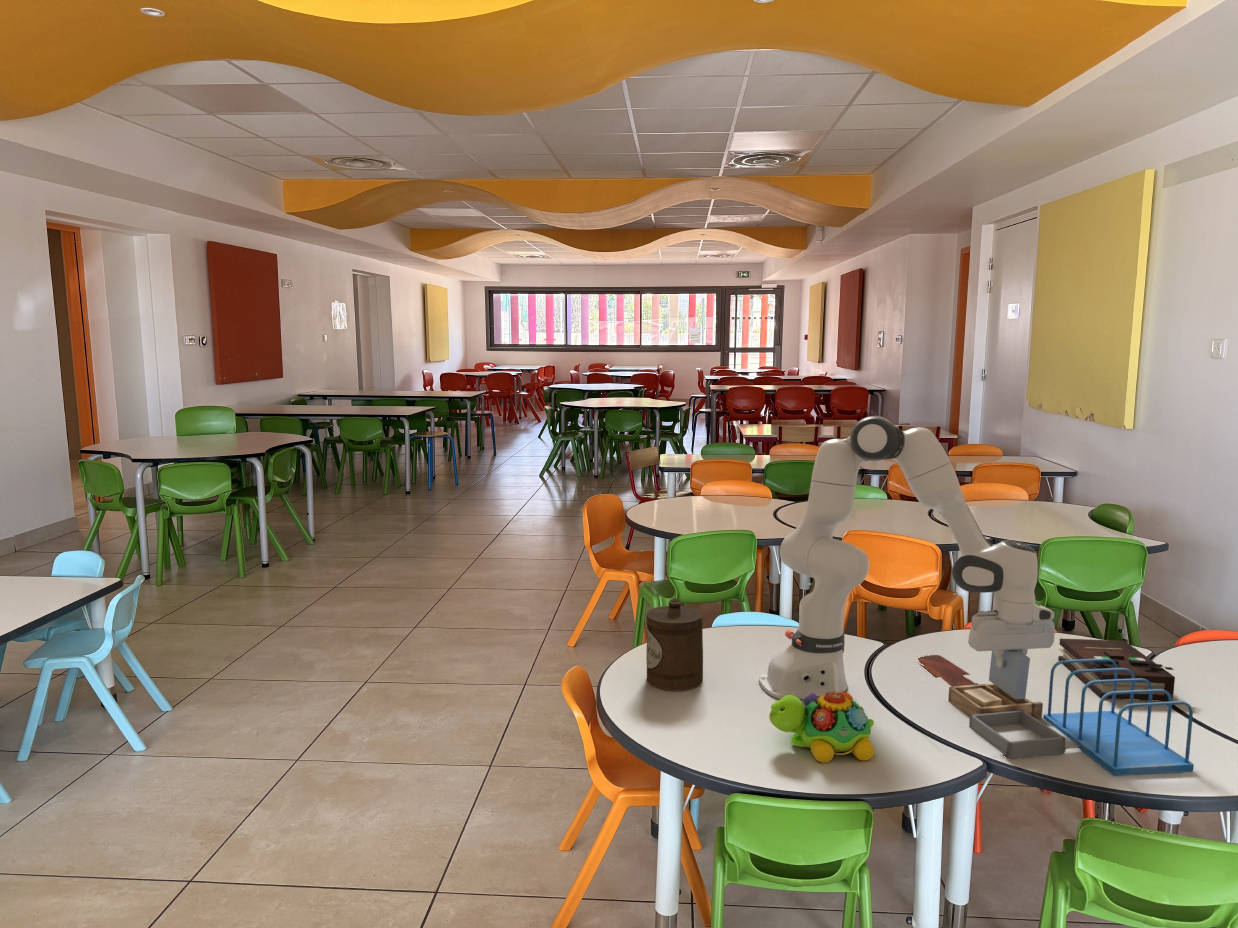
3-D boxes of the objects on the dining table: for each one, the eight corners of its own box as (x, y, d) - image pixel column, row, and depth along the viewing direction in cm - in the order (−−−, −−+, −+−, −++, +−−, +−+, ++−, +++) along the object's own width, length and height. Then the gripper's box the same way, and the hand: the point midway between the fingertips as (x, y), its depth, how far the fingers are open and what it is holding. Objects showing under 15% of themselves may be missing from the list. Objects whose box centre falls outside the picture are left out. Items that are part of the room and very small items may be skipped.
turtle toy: (759, 730, 189) (760, 681, 187) (858, 726, 191) (860, 677, 189) (779, 767, 172) (780, 714, 171) (887, 762, 174) (890, 710, 172)
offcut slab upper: (983, 710, 192) (984, 702, 192) (963, 698, 199) (963, 690, 198) (1001, 707, 193) (1001, 699, 193) (980, 695, 200) (980, 687, 200)
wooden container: (646, 668, 225) (646, 590, 222) (701, 669, 224) (701, 591, 221) (646, 691, 210) (646, 608, 207) (704, 692, 210) (705, 608, 207)
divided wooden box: (979, 726, 190) (980, 708, 189) (948, 703, 202) (949, 686, 201) (1041, 720, 193) (1042, 703, 192) (1007, 698, 205) (1008, 681, 204)
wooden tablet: (995, 695, 208) (996, 689, 208) (958, 697, 207) (958, 691, 207) (942, 656, 234) (943, 650, 234) (909, 658, 233) (909, 652, 233)
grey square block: (1015, 699, 191) (1019, 658, 190) (988, 680, 201) (993, 641, 200) (1025, 698, 192) (1030, 658, 190) (998, 679, 202) (1002, 640, 200)
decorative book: (1124, 634, 229) (1186, 677, 200) (1122, 660, 230) (1183, 707, 201) (1051, 632, 231) (1101, 674, 202) (1050, 658, 232) (1099, 703, 203)
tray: (1008, 759, 175) (1009, 743, 174) (969, 729, 188) (969, 714, 188) (1064, 753, 177) (1065, 737, 177) (1021, 724, 191) (1022, 709, 190)
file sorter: (1042, 721, 193) (1046, 658, 191) (1112, 718, 194) (1118, 656, 192) (1113, 776, 168) (1119, 705, 166) (1194, 772, 170) (1201, 701, 167)
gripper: (980, 615, 189) (976, 673, 191) (1061, 612, 193) (1056, 669, 194) (965, 607, 195) (961, 663, 197) (1043, 604, 199) (1038, 659, 201)
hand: (1008, 666), depth 196 cm, fingers closed on grey square block, 3 cm apart
